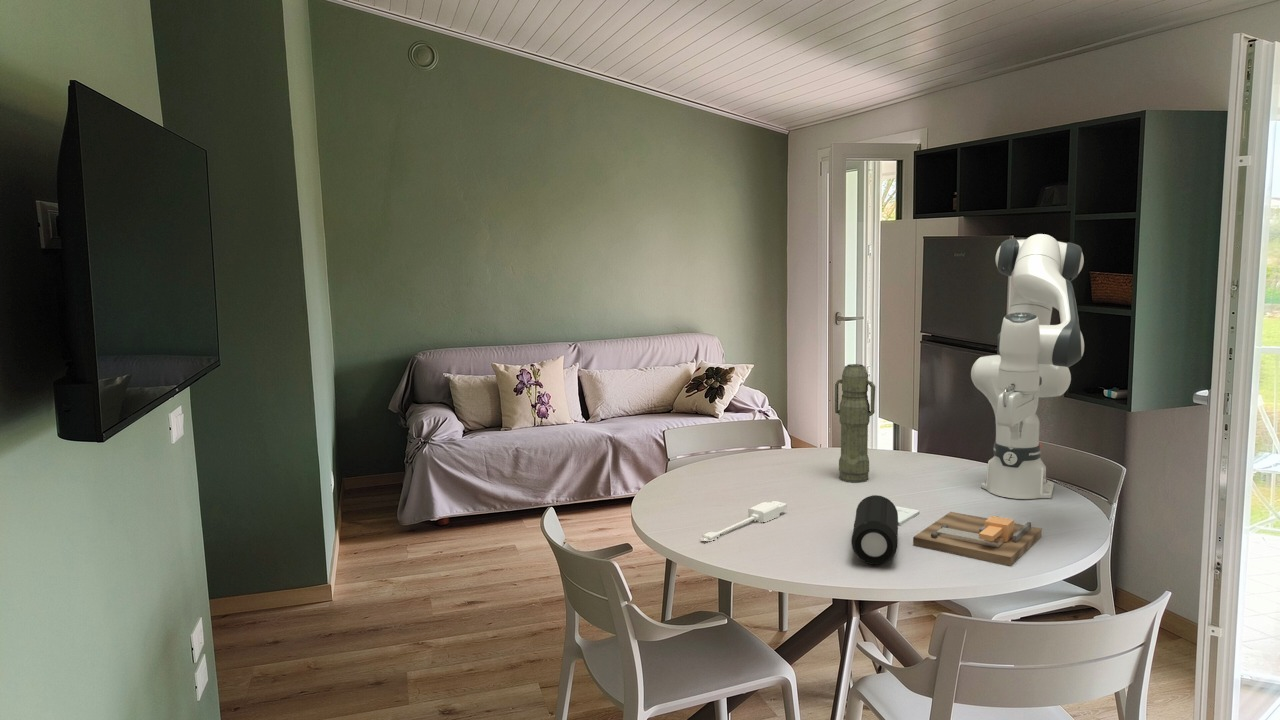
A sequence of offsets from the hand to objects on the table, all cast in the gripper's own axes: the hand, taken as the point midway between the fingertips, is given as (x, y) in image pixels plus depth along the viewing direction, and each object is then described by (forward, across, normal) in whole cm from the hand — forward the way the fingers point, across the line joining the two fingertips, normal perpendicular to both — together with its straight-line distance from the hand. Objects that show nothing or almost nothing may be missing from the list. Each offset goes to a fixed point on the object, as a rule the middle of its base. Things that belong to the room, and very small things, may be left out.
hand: (1016, 438), depth 201 cm
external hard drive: (+24, -5, +28) cm, 38 cm away
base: (+24, -10, +5) cm, 26 cm away
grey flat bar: (+22, -16, +5) cm, 27 cm away
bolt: (+21, -14, 0) cm, 26 cm away
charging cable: (+24, -34, +55) cm, 69 cm away
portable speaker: (+24, -29, +22) cm, 44 cm away
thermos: (+24, +23, +53) cm, 63 cm away
